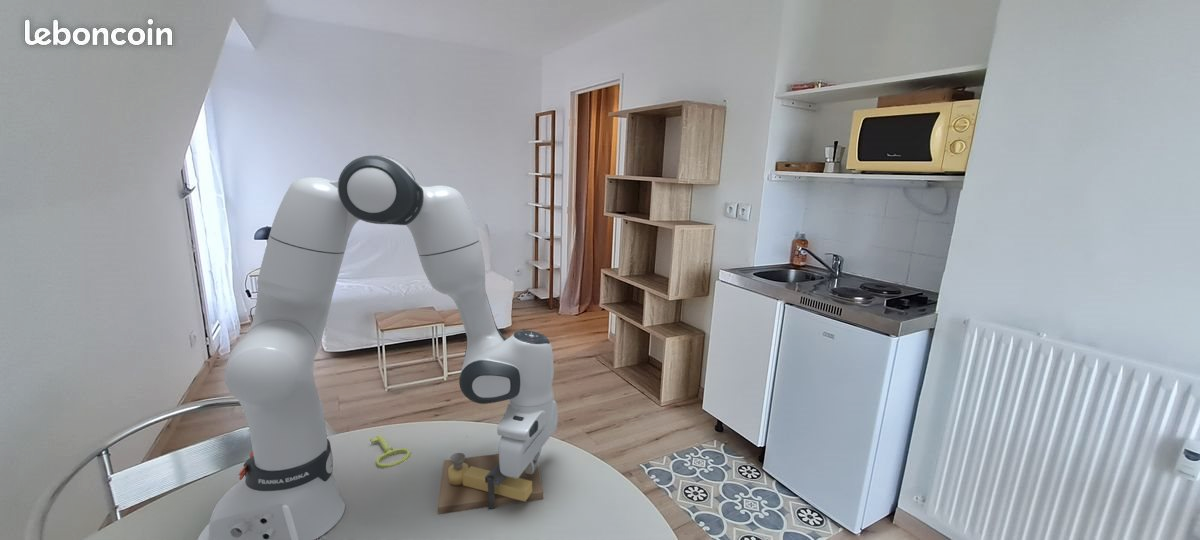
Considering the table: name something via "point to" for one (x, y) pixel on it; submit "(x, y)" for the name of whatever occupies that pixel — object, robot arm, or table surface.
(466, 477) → the link
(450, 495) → the board
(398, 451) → the key
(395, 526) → the table surface
